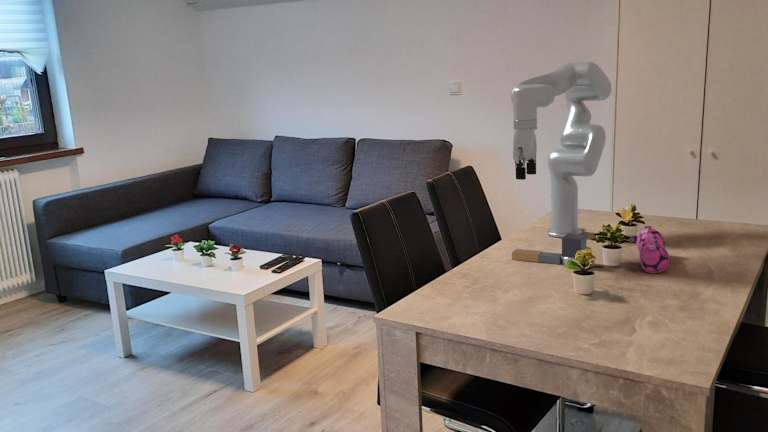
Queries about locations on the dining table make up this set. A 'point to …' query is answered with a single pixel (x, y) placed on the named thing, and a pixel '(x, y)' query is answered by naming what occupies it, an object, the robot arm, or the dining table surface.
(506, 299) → the dining table surface
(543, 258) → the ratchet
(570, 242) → the dark slate cube
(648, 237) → the pencil case
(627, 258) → the dining table surface
